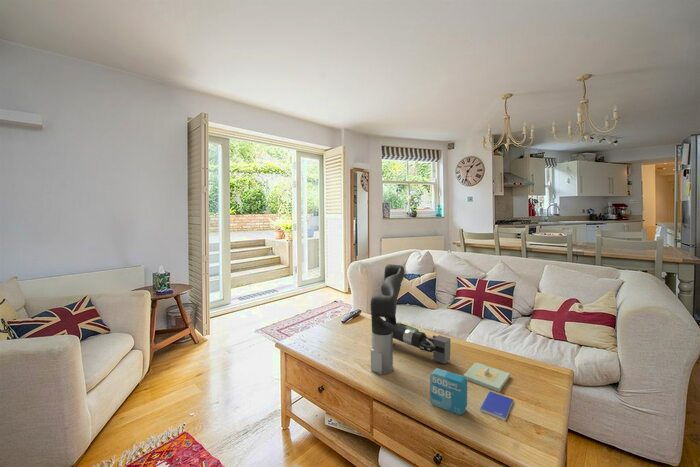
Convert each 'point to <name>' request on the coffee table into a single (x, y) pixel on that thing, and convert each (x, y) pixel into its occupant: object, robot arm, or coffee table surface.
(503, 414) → the hard drive
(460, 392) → the data package
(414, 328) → the disk drive
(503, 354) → the coffee table surface
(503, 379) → the pin board
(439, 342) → the block
